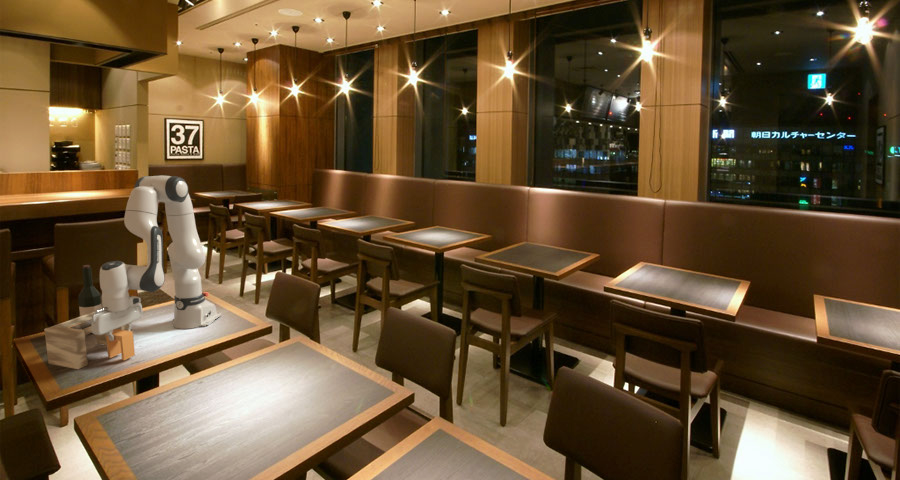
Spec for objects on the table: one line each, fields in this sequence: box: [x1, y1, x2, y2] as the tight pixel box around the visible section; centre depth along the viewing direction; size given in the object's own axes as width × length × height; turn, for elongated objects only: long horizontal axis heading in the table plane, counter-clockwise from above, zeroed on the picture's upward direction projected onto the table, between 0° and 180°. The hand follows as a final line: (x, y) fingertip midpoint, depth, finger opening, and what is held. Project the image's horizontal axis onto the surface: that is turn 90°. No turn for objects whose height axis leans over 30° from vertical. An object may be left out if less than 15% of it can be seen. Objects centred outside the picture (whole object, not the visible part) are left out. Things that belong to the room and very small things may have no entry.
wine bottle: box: [77, 264, 103, 336], centre depth 222 cm, size 8×8×30 cm
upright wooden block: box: [106, 329, 136, 361], centre depth 199 cm, size 5×8×10 cm, turn 76°
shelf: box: [44, 312, 126, 370], centre depth 202 cm, size 24×14×14 cm, turn 166°
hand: (119, 337), depth 198 cm, fingers closed on upright wooden block, 5 cm apart
